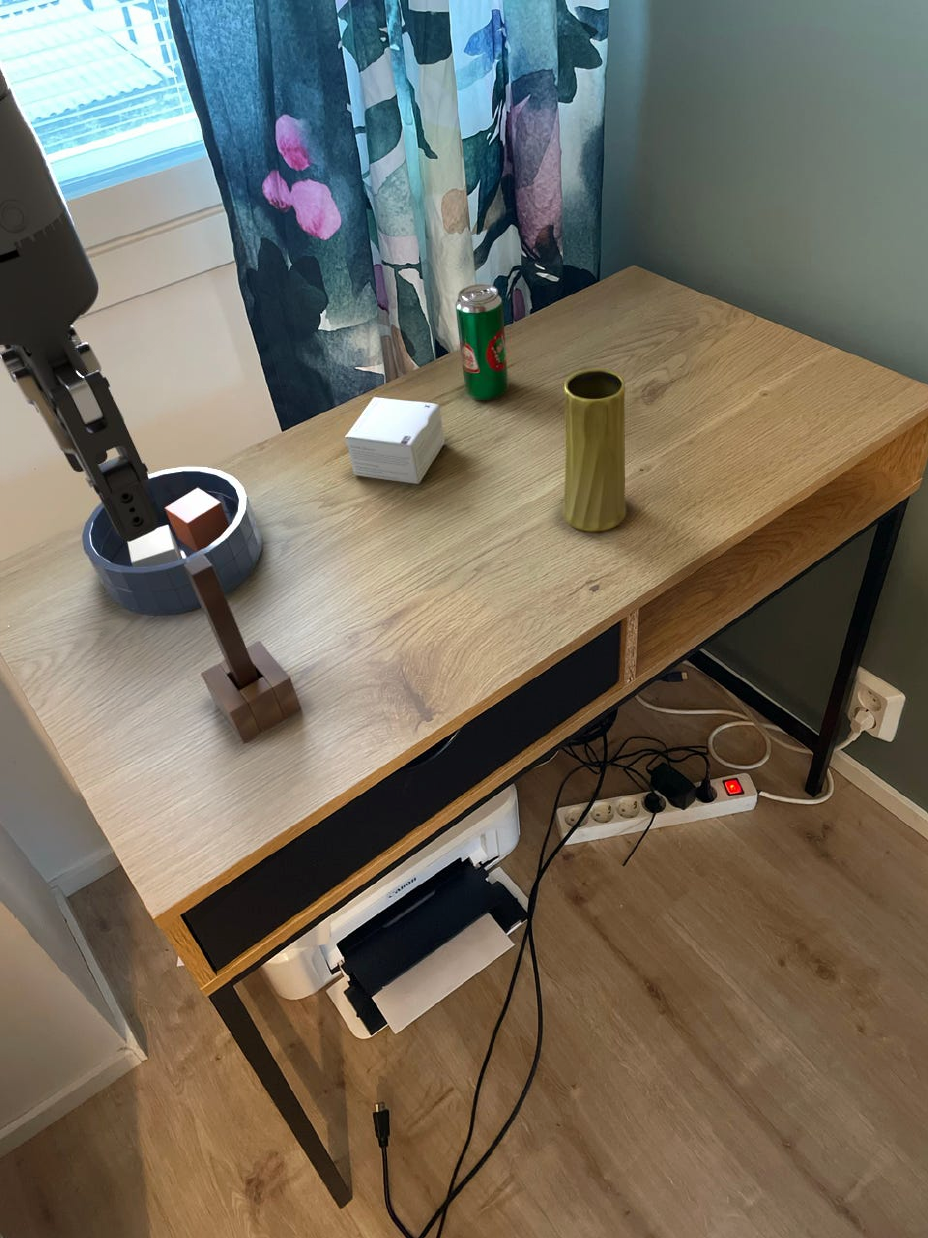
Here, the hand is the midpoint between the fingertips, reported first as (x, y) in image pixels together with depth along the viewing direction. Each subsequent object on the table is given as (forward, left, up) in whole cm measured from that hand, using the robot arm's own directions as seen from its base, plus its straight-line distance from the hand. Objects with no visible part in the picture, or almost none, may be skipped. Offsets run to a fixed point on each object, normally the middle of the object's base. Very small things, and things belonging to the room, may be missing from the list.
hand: (114, 497), depth 52 cm
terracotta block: (+10, +27, -26) cm, 38 cm away
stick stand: (+4, +4, -26) cm, 27 cm away
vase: (+41, +3, -26) cm, 48 cm away
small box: (+32, +24, -26) cm, 48 cm away
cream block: (+4, +24, -26) cm, 36 cm away
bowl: (+7, +26, -26) cm, 37 cm away
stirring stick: (+4, +4, -26) cm, 27 cm away
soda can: (+47, +28, -26) cm, 61 cm away
